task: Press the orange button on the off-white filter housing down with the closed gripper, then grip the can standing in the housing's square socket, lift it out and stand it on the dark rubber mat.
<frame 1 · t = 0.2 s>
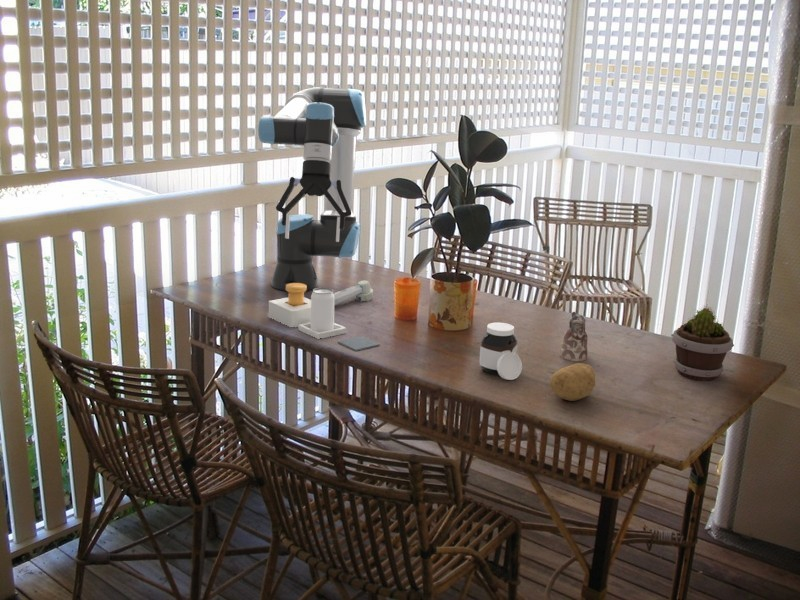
hand: (312, 240, 237), 27 cm above the table, tool tilted 15°, fingers open, 13 cm apart
figurine: (573, 357, 237), on the table
can: (322, 332, 247), resting in housing
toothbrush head: (342, 306, 272), on the table
spread jar: (501, 373, 223), on the table
plunger: (296, 298, 255), point 6 cm above the table, slide at 0.0 cm
mat: (358, 344, 239), on the table
flowerpot: (697, 374, 228), on the table
housing: (307, 324, 252), on the table
potato: (572, 398, 209), on the table
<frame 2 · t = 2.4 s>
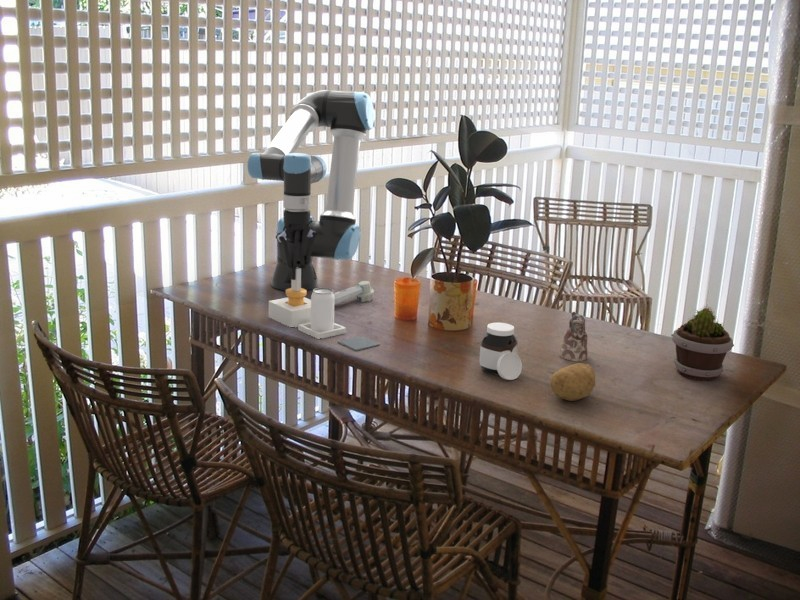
hand: (296, 289, 254), 9 cm above the table, tool pointing down, fingers closed
plunger: (296, 303, 255), point 5 cm above the table, slide at 1.4 cm, touching gripper
everything else where it was.
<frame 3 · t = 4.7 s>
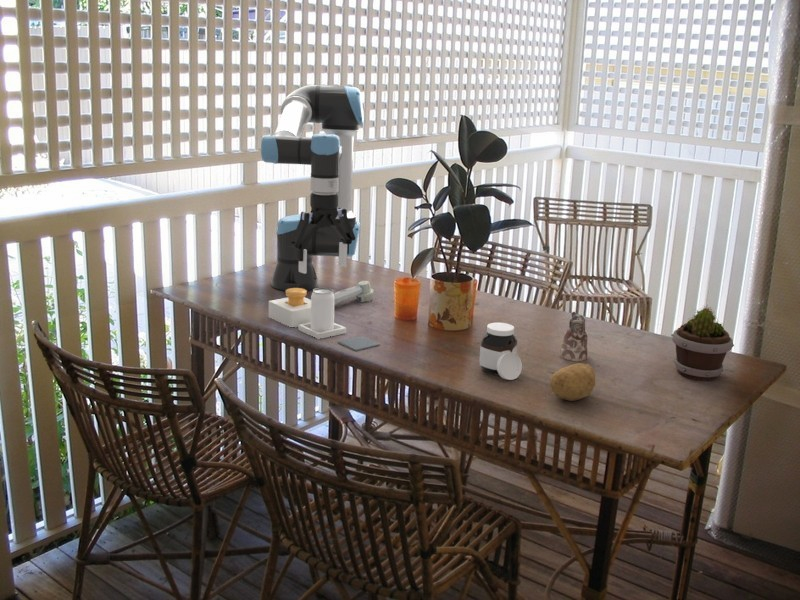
hand: (322, 269, 242), 18 cm above the table, tool pointing down, fingers open, 13 cm apart
plunger: (296, 303, 255), point 5 cm above the table, slide at 1.5 cm
everything else where it was.
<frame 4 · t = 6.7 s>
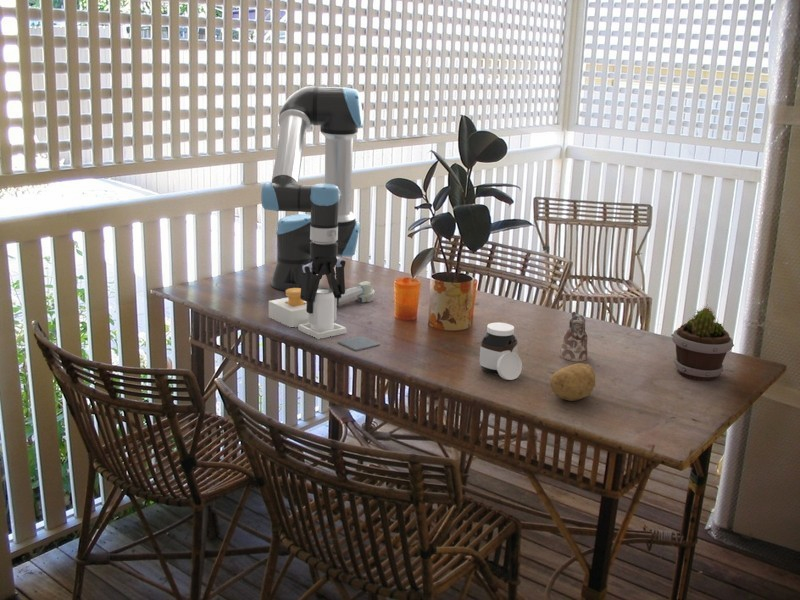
hand: (322, 321, 247), 3 cm above the table, tool pointing down, fingers closed on can, 6 cm apart
can: (322, 332, 247), resting in housing, touching gripper
everything else where it was.
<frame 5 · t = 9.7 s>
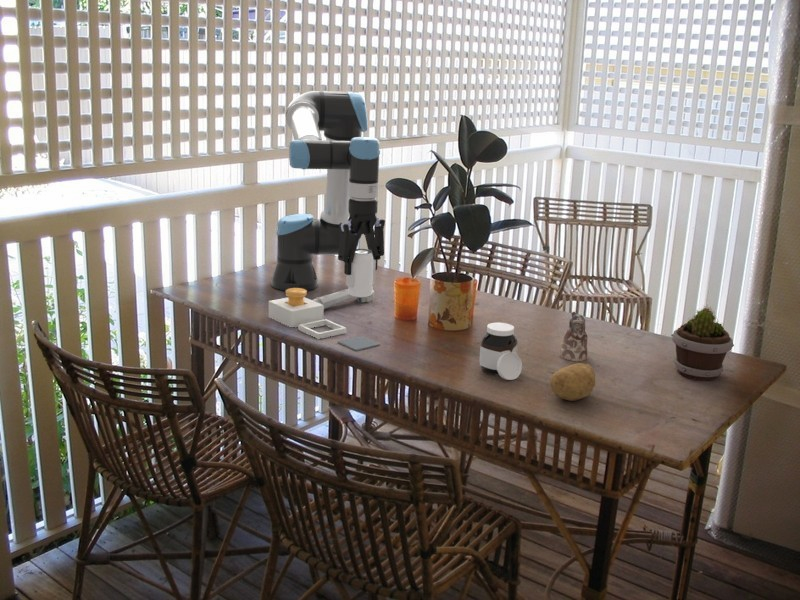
hand: (360, 284, 234), 17 cm above the table, tool pointing down, fingers closed on can, 6 cm apart
can: (360, 295, 235), point 14 cm above the table, touching gripper
everything else where it was.
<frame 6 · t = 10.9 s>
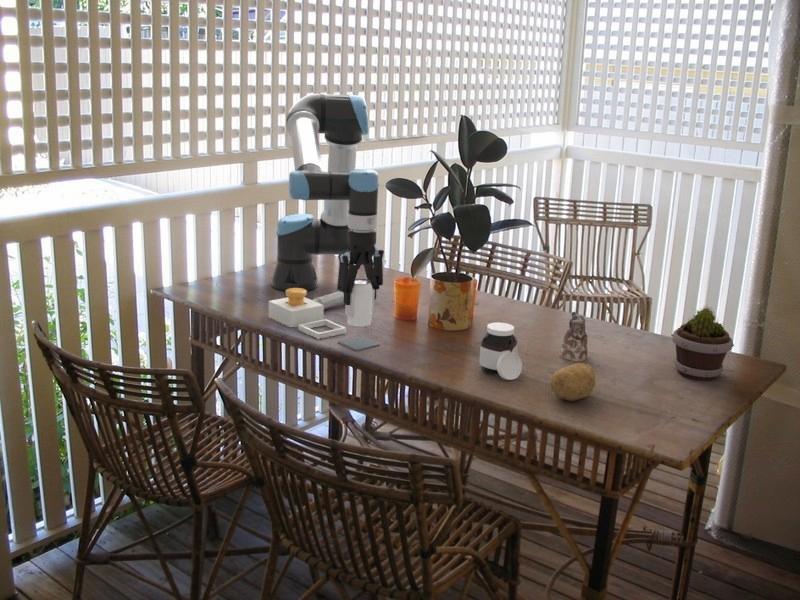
hand: (359, 313, 236), 9 cm above the table, tool pointing down, fingers closed on can, 6 cm apart
can: (359, 324, 237), point 6 cm above the table, touching gripper
everything else where it was.
when the fingers open (4 cm above the table, at t = 12.1 s): can stays where it is, resting on mat.
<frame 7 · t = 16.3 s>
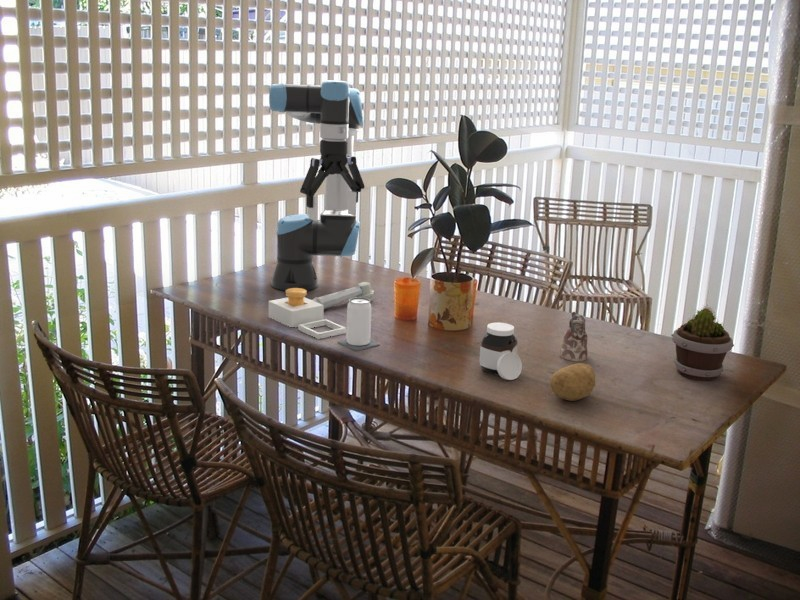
hand: (332, 216, 244), 32 cm above the table, tool pointing down, fingers open, 13 cm apart
can: (358, 343, 239), resting on mat
everything else where it was.
at the end: plunger slide at 1.5 cm; can inside the target area (0.1 cm from its centre), resting on mat; can tilted 0° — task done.
